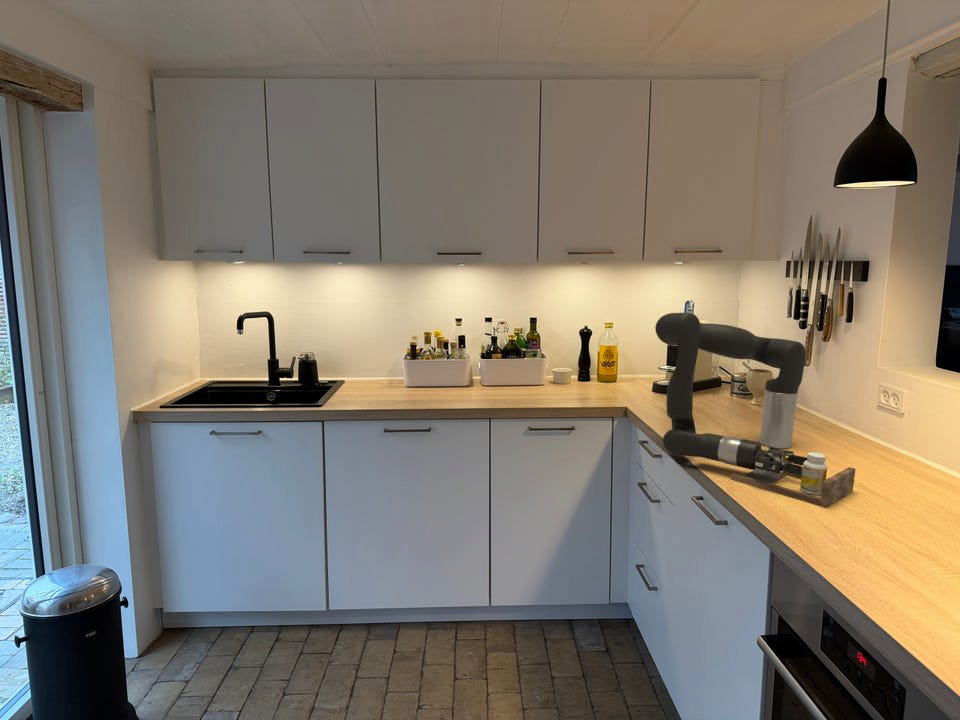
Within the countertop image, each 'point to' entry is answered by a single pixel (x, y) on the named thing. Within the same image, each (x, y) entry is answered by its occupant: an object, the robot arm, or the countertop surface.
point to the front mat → (764, 475)
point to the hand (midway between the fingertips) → (805, 466)
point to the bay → (830, 494)
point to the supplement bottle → (813, 473)
